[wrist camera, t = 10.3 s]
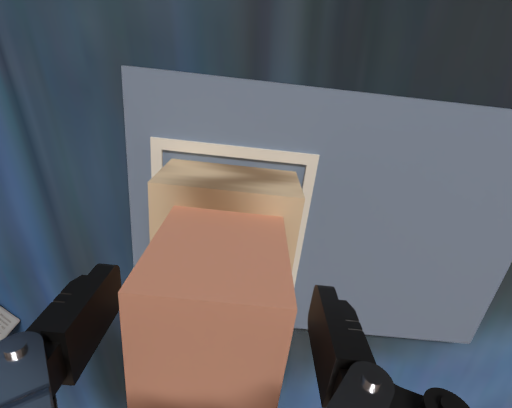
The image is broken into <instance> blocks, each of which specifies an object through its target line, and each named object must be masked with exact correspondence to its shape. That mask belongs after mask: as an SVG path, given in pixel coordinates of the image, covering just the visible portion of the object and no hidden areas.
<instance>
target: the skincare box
mask: <svg viewBox="0 0 512 408" xmlns="http://www.w3.org/2000/svg"><path fill="white" fill-rule="evenodd" d="M19 322H20V320H19V319H18V318H17V317H15V316H14V315H13V314H11V313H10V312H8V311H7V310H6V309H4V308H3V307H1V306H0V341H1V340H2V339H4V338H6V337H7V336H8V334H9V333H10V332H11V331H12V330H13V329H14V328H15V326H16V325H17V324H18V323H19Z"/></svg>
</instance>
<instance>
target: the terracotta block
mask: <svg viewBox="0 0 512 408" xmlns="http://www.w3.org/2000/svg"><path fill="white" fill-rule="evenodd" d="M118 300H119V312H120V323H121V335H122V347H123V359H124V371H125V383H126V395H127V407H128V408H277V406H278V401H279V396H280V391H281V387H282V382H283V377H284V372H285V367H286V363H287V358H288V353H289V348H290V343H291V339H292V334H293V329H294V324H295V319H296V315H297V303H296V297H295V290H294V284H293V277H292V271H291V264H290V258H289V251H288V245H287V238H286V232H285V225H284V219H283V217H280V216H271V215H261V214H251V213H242V212H232V211H223V210H213V209H204V208H194V207H185V206H175V205H174V206H173V207H172V209H171V211H170V212H169V214H168V215H167V217H166V218H165V220H164V221H163V223H162V225H161V226H160V228H159V229H158V231H157V232H156V234H155V235H154V237H153V239H152V240H151V242H150V243H149V245H148V246H147V248H146V249H145V251H144V253H143V254H142V256H141V257H140V259H139V260H138V262H137V263H136V265H135V267H134V268H133V270H132V271H131V273H130V274H129V276H128V277H127V279H126V281H125V282H124V284H123V285H122V287H121V288H120V290H119V291H118Z"/></svg>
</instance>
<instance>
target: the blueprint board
mask: <svg viewBox="0 0 512 408" xmlns="http://www.w3.org/2000/svg"><path fill="white" fill-rule="evenodd" d="M121 70H122V87H123V103H124V119H125V135H126V151H127V167H128V183H129V199H130V216H131V232H132V248H133V264H134V267H135V265H136V263H137V262H138V260H139V259H140V257H141V256H142V254H143V253H144V251H145V249H146V248H147V246H148V245H149V243H150V235H149V207H148V181H149V180H150V179H151V178H152V177H153V176H154V175H155V174H156V173H157V172H158V171H159V170H160V169H161V168H162V167H164V166H165V165H166V164H167V163H168V162H169V161H170V160H171V159H181V160H191V161H200V162H210V163H219V164H229V165H238V166H248V167H257V168H267V169H276V170H286V171H295V172H296V173H297V176H298V179H299V182H300V185H301V188H302V191H303V193H304V196H305V203H304V208H303V214H302V219H301V225H300V230H299V236H298V241H297V247H296V252H295V258H294V263H293V269H292V277H293V284H294V290H295V297H296V303H297V315H296V319H295V324H294V328H300V329H308V312H309V308H310V303H311V299H312V294H313V290H314V286H315V285H324V286H334V288H335V290H336V293H337V296H338V299H339V300H346V301H347V302H348V303H349V304H350V305H351V306H352V307H353V308H354V309H355V311H356V314H357V316H358V319H359V323H360V324H361V327H362V331H363V332H364V334H366V335H377V336H388V337H400V338H411V339H422V340H433V341H444V342H455V343H466V344H470V342H471V340H472V338H473V336H474V334H475V332H476V331H477V329H478V327H479V325H480V323H481V321H482V319H483V317H484V315H485V313H486V311H487V309H488V307H489V305H490V303H491V301H492V299H493V297H494V295H495V293H496V292H497V290H498V288H499V286H500V284H501V282H502V280H503V278H504V276H505V274H506V272H507V270H508V268H509V266H510V264H511V262H512V109H507V108H498V107H489V106H480V105H471V104H462V103H454V102H445V101H436V100H427V99H418V98H410V97H401V96H392V95H383V94H374V93H365V92H357V91H348V90H339V89H330V88H321V87H312V86H304V85H295V84H286V83H277V82H268V81H260V80H251V79H242V78H233V77H224V76H215V75H207V74H198V73H189V72H180V71H171V70H162V69H154V68H145V67H136V66H121Z"/></svg>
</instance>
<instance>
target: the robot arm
mask: <svg viewBox="0 0 512 408" xmlns="http://www.w3.org/2000/svg"><path fill="white" fill-rule="evenodd" d="M120 288H121V277H120V268H119V266H118V265H109V264H97V265H96V266H95V267H94V268H93V269H92V271H91V272H90V273H89V274H88V275H81V276H79V277H78V278H76V279H74V280H73V281H71V282H69V283H68V285H67V286H66V287H65V288H64V289H63V290H62V291H61V293H60V294H59V295H58V296H57V297H56V298H55V299H54V301H53V302H51V303H50V305H49V306H48V307H47V308H46V309H45V310H44V311H43V312H42V313H41V314H40V316H39V317H38V318H37V319H36V320H35V321H34V322H33V323H32V324H31V326H30V327H29V328H28V329H27V330H26V331H25V332H19V333H16V334H13V335H10V336H8V337H6V338H4V339H2V340H1V341H0V408H58V406H57V399H56V395H55V394H56V392H57V391H58V389H59V388H60V386H61V385H75V384H76V382H77V380H78V379H79V377H80V375H81V374H82V372H83V370H84V368H85V367H86V365H87V363H88V362H89V360H90V358H91V357H92V355H93V353H94V352H95V350H96V348H97V347H98V345H99V343H100V341H101V340H102V338H103V336H104V335H105V333H106V331H107V330H108V328H109V326H110V325H111V323H112V321H113V319H114V318H115V316H116V314H117V313H118V311H119V300H118V291H119V290H120ZM308 332H309V338H310V343H311V349H312V355H313V360H314V366H315V371H316V377H317V382H318V388H319V393H320V399H321V404H322V408H470V407H469V406H468V405H467V404H466V403H465V402H464V401H463V400H462V399H461V398H459V397H458V396H457V395H455V394H453V393H452V392H450V391H448V390H445V389H442V388H430V389H428V390H427V391H426V392H425V394H424V396H422V395H420V394H417V393H414V392H412V391H409V390H406V389H404V388H401V387H399V386H397V385H395V384H394V383H393V381H392V379H391V377H390V376H389V375H388V373H387V372H386V371H385V370H383V369H382V368H381V367H379V366H378V365H376V362H375V360H374V357H373V355H372V352H371V349H370V347H369V344H368V342H367V339H366V337H365V334H364V332H363V331H362V327H361V324H360V323H359V319H358V316H357V314H356V311H355V309H354V308H353V307H352V306H351V305H350V304H349V303H348V302H347V301H346V300H339V299H338V296H337V293H336V290H335V288H334V286H324V285H315V286H314V290H313V294H312V299H311V303H310V308H309V312H308Z"/></svg>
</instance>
